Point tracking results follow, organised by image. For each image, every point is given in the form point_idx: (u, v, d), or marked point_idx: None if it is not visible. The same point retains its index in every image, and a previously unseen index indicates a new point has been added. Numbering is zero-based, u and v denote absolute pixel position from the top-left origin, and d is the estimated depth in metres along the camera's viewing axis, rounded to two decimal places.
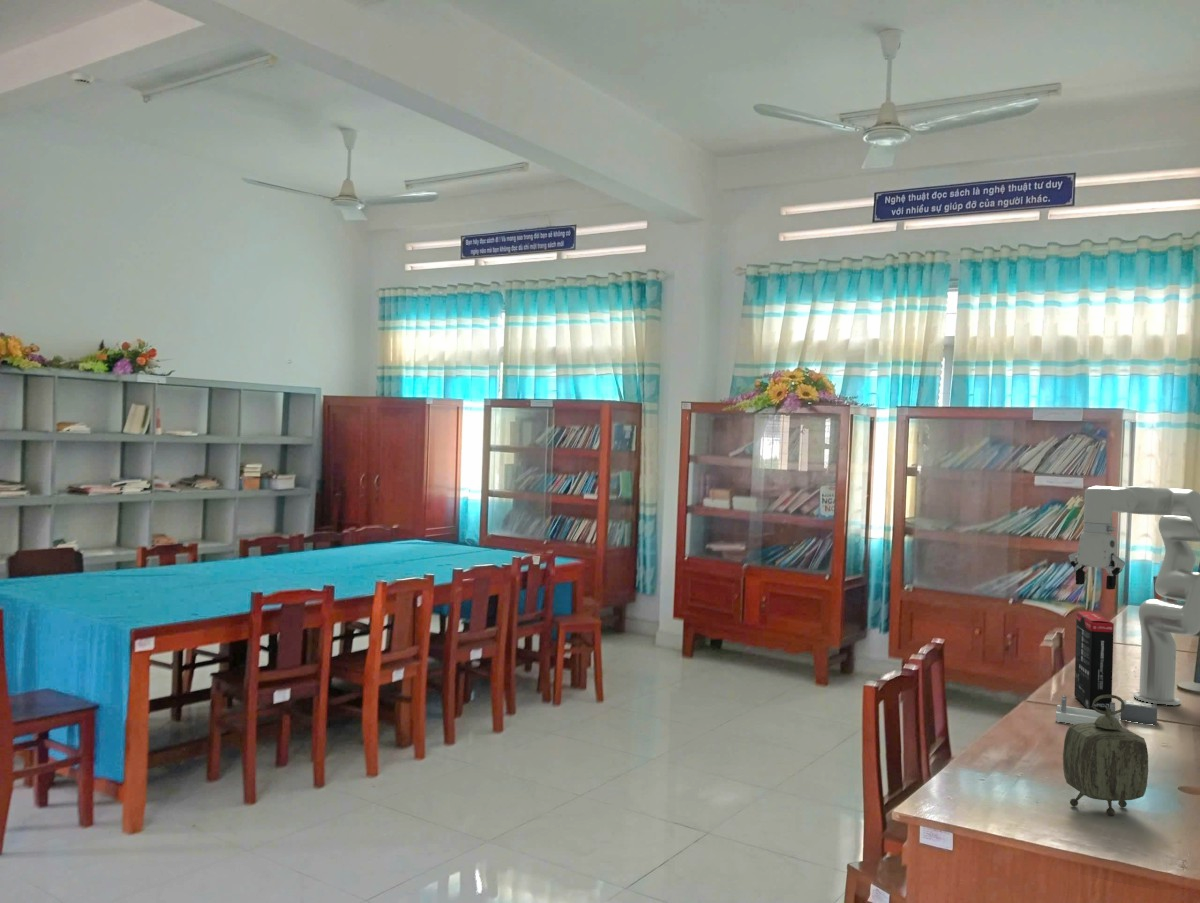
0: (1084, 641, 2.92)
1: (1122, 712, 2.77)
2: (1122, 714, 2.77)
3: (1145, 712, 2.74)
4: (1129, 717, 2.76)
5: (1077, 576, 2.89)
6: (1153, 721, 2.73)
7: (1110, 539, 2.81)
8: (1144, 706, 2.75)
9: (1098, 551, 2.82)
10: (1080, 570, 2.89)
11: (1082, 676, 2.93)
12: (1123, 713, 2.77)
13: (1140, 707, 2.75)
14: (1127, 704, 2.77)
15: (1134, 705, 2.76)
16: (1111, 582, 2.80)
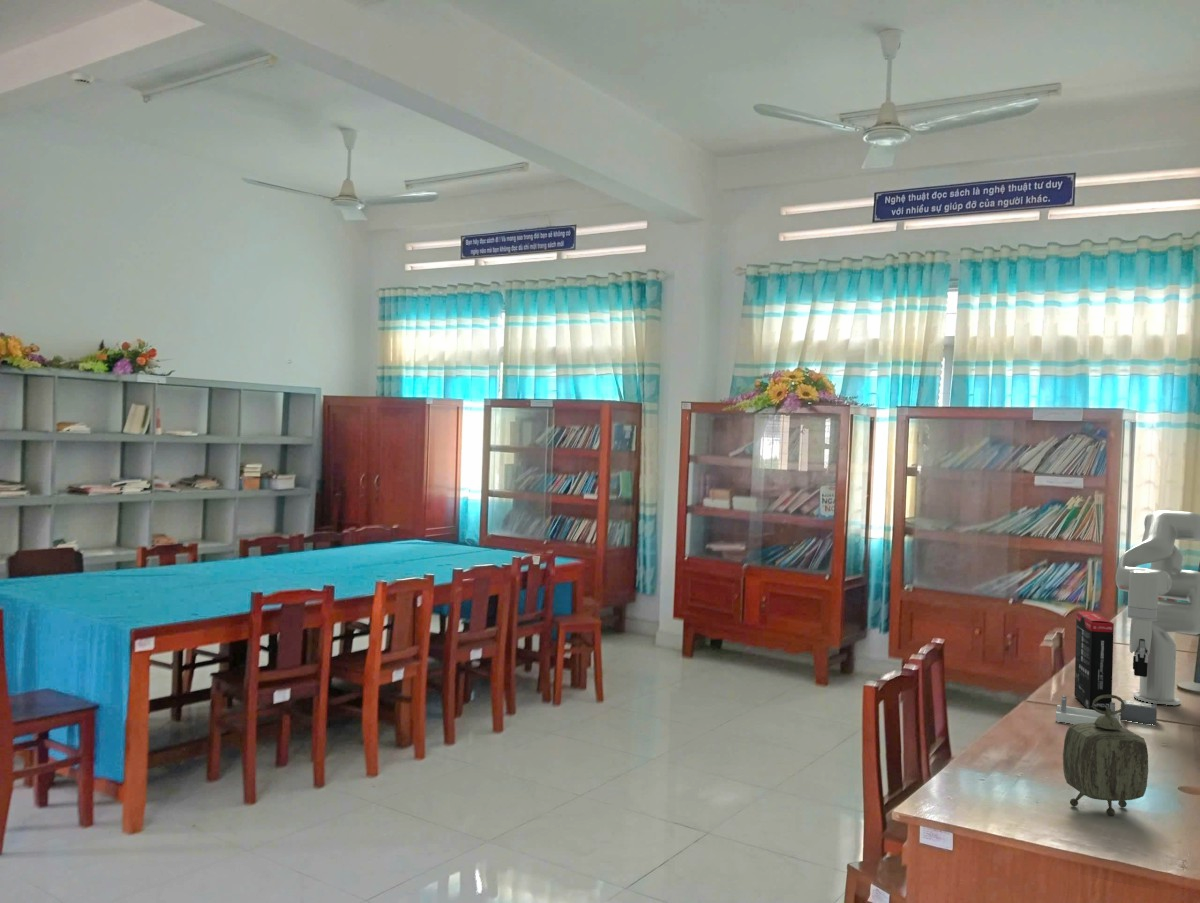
0: (1084, 641, 2.92)
1: (1122, 712, 2.77)
2: (1122, 714, 2.77)
3: (1145, 712, 2.74)
4: (1129, 717, 2.76)
5: None
6: (1152, 721, 2.73)
7: None
8: (1144, 706, 2.75)
9: None
10: None
11: (1082, 676, 2.93)
12: (1123, 712, 2.77)
13: (1140, 707, 2.75)
14: (1127, 704, 2.77)
15: (1134, 705, 2.76)
16: None
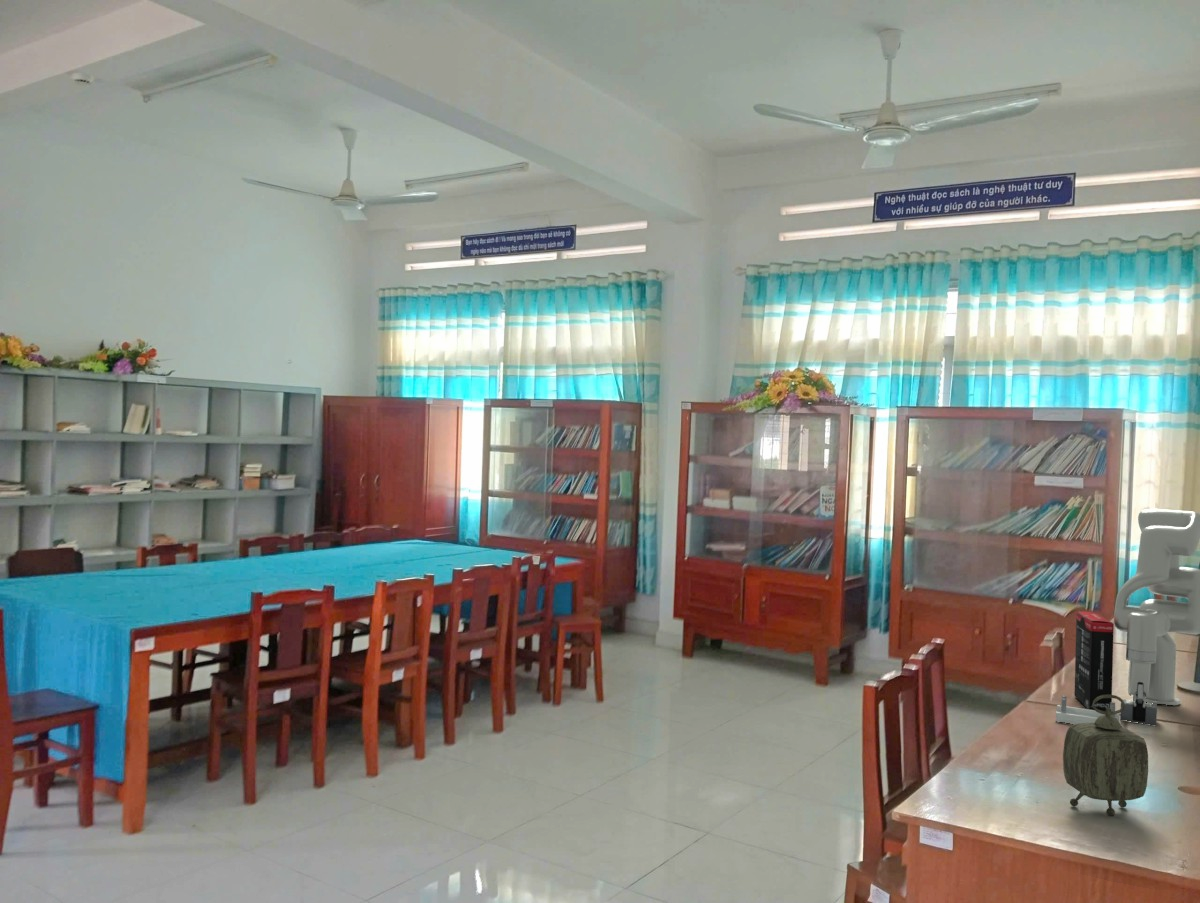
0: (1084, 641, 2.92)
1: (1121, 711, 2.77)
2: (1122, 713, 2.77)
3: None
4: (1129, 716, 2.76)
5: None
6: (1152, 721, 2.73)
7: None
8: None
9: None
10: None
11: (1082, 676, 2.93)
12: (1123, 712, 2.77)
13: None
14: (1127, 703, 2.77)
15: None
16: None
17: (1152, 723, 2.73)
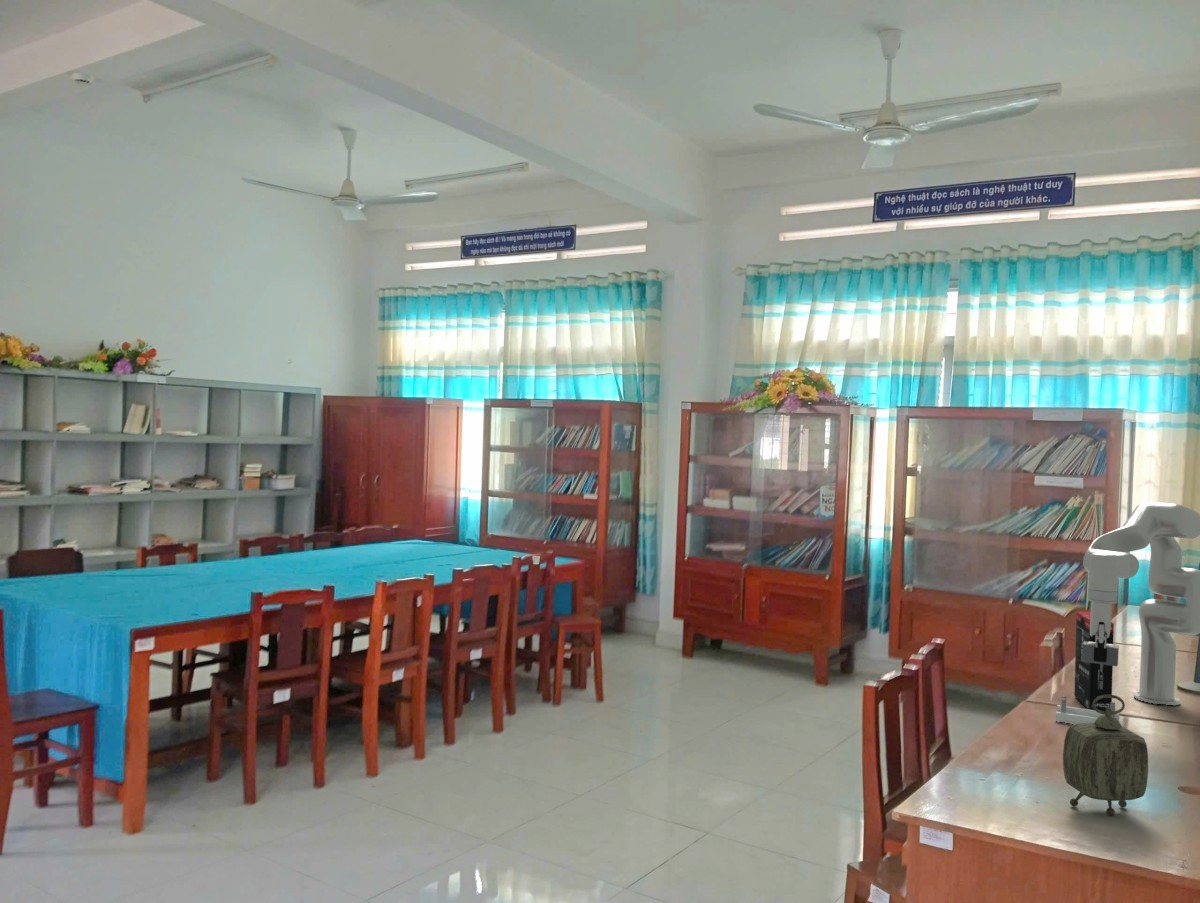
0: None
1: (1083, 652, 2.75)
2: (1083, 654, 2.75)
3: None
4: (1090, 657, 2.74)
5: None
6: (1114, 661, 2.71)
7: None
8: None
9: None
10: None
11: (1082, 676, 2.93)
12: (1084, 653, 2.74)
13: None
14: (1088, 644, 2.74)
15: None
16: None
17: (1113, 663, 2.71)
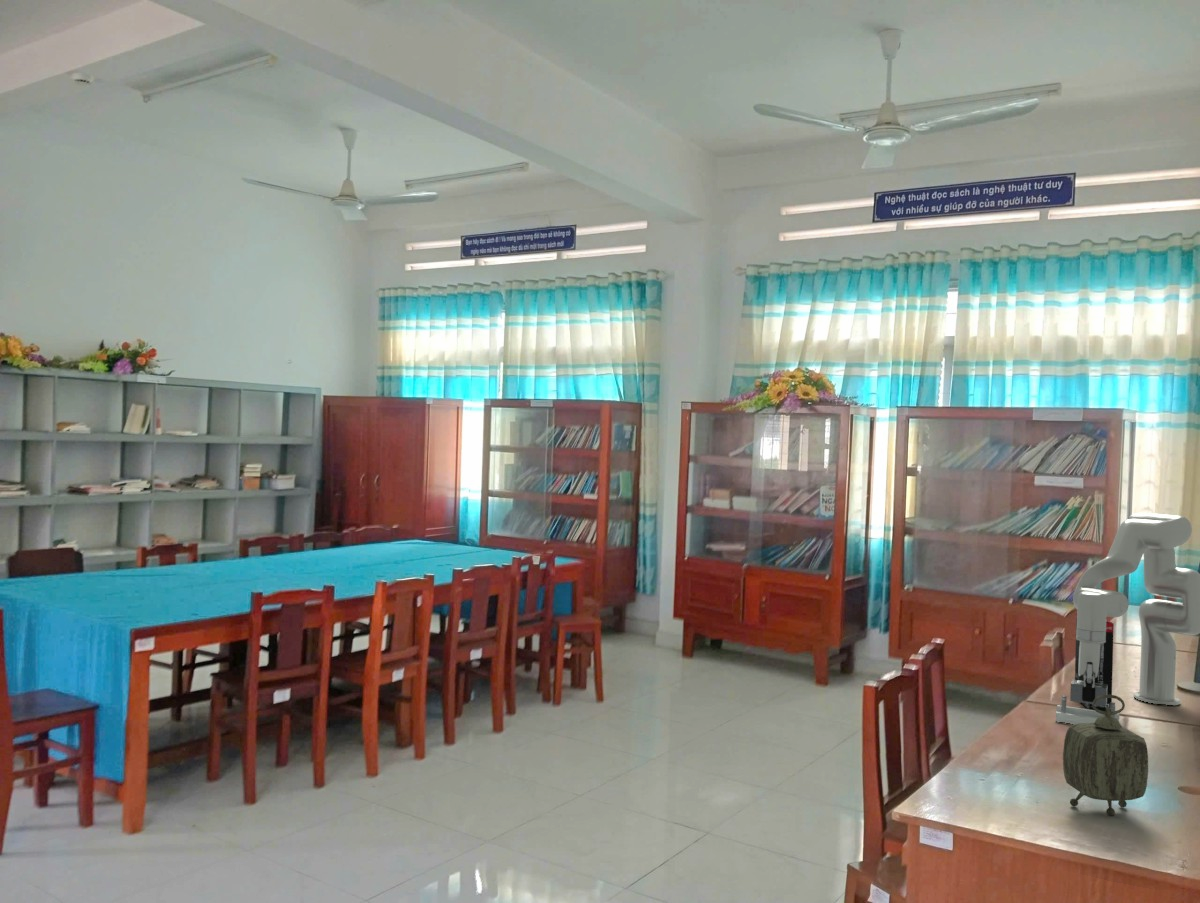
0: None
1: (1072, 691, 2.74)
2: (1072, 694, 2.74)
3: (1095, 691, 2.71)
4: (1079, 696, 2.73)
5: None
6: (1102, 701, 2.70)
7: None
8: (1094, 685, 2.72)
9: None
10: None
11: (1082, 676, 2.93)
12: (1073, 692, 2.74)
13: None
14: (1077, 683, 2.74)
15: None
16: None
17: (1102, 703, 2.70)
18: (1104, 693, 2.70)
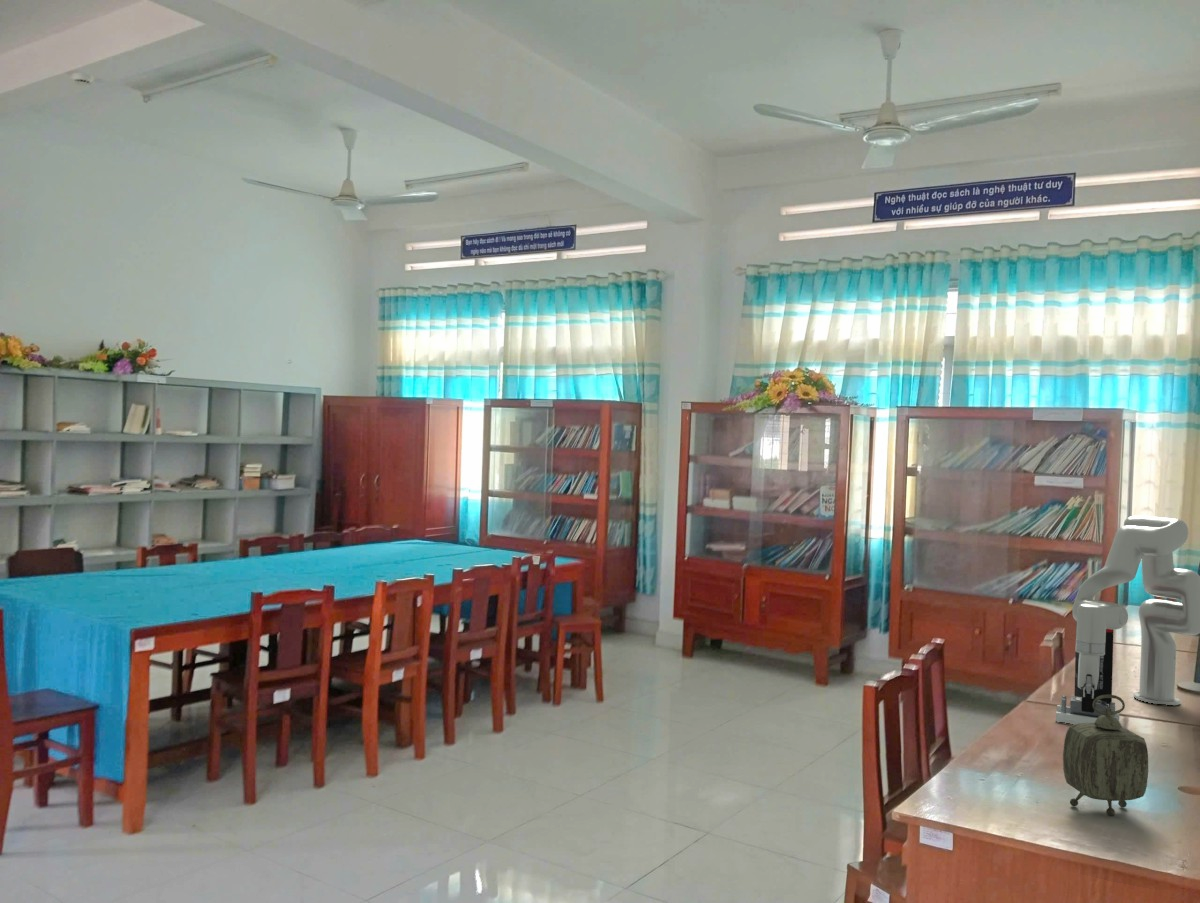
0: None
1: (1071, 708, 2.74)
2: (1071, 711, 2.74)
3: None
4: (1078, 713, 2.73)
5: None
6: None
7: None
8: None
9: None
10: None
11: None
12: (1073, 709, 2.74)
13: None
14: (1076, 700, 2.74)
15: None
16: None
17: None
18: (1104, 710, 2.70)
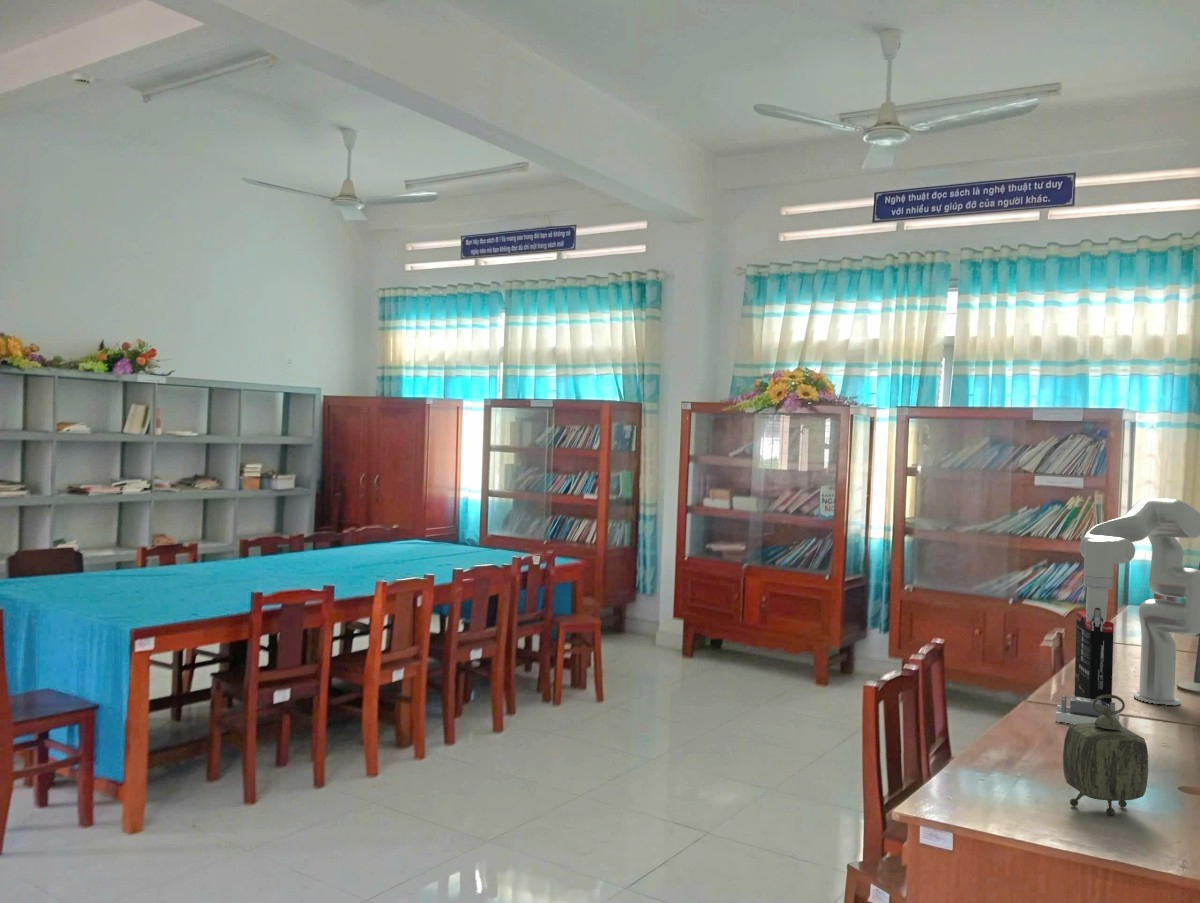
0: (1084, 641, 2.92)
1: (1071, 708, 2.74)
2: (1071, 711, 2.74)
3: None
4: (1078, 713, 2.73)
5: None
6: None
7: None
8: None
9: None
10: None
11: (1082, 676, 2.93)
12: (1073, 709, 2.74)
13: (1089, 704, 2.72)
14: (1076, 700, 2.74)
15: (1083, 701, 2.73)
16: None
17: None
18: (1104, 710, 2.70)
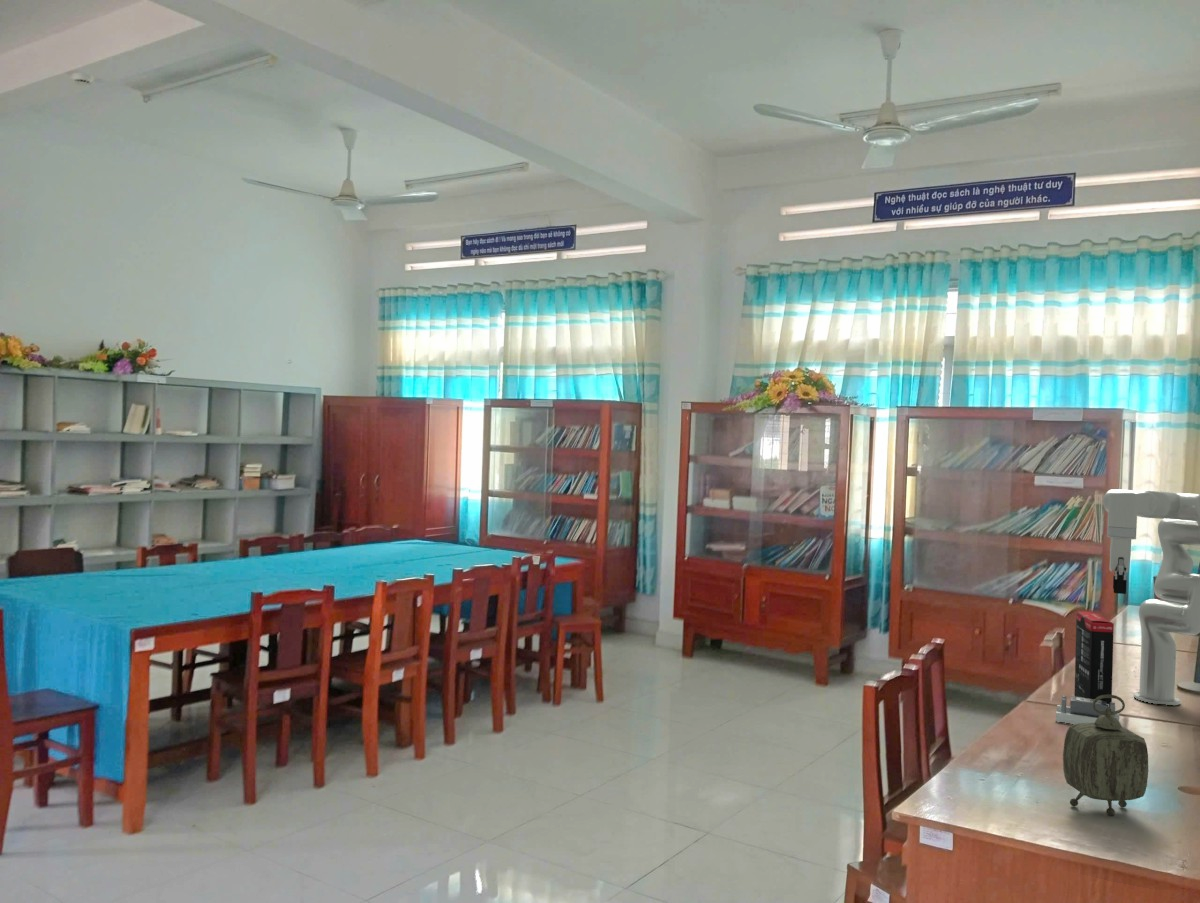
0: (1084, 641, 2.92)
1: (1071, 708, 2.74)
2: (1071, 711, 2.74)
3: None
4: (1078, 713, 2.73)
5: None
6: None
7: None
8: None
9: None
10: None
11: (1082, 676, 2.93)
12: (1073, 709, 2.74)
13: (1089, 704, 2.72)
14: (1076, 700, 2.74)
15: (1083, 701, 2.73)
16: None
17: None
18: (1104, 710, 2.70)
